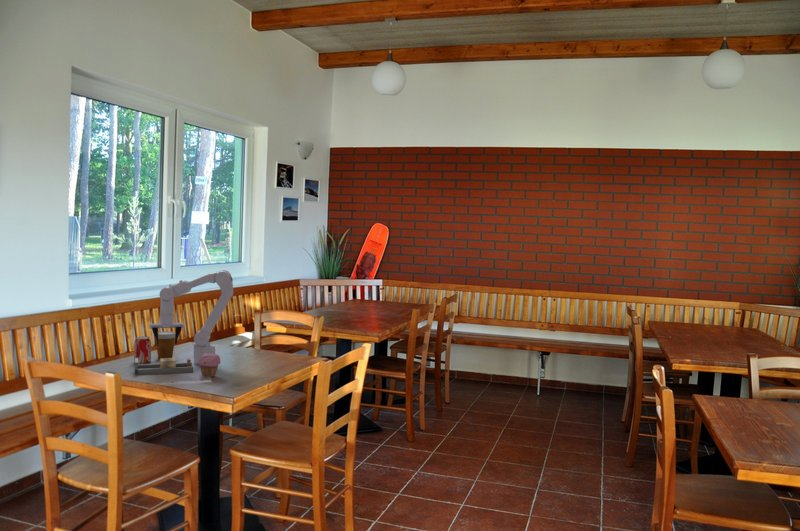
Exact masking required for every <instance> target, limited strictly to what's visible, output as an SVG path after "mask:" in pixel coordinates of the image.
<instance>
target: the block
mask: <svg viewBox="0 0 800 531" xmlns="http://www.w3.org/2000/svg"><path fill="white" fill-rule="evenodd" d="M159 360H160V361H159V364H160V368H171V367H191V361H192V360H191V358H186V363H187V365H179V366H176V363H177V360H176V357H172V358H160V359H159Z"/></svg>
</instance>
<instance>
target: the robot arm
mask: <svg viewBox="0 0 800 531" xmlns="http://www.w3.org/2000/svg"><path fill="white" fill-rule="evenodd" d="M231 274H232V273H230V272H229V271H228V270H225V269H223V270H220V271H215V272H211V273H207V274H204V275H203V276H200V277H197V278H195V279H192V280H191V281H188V280H186V279H185V280H183V279H180V280H179V281H178V282H176V283H174V284H168V286H166V287H163V288H161V290H160V291H159V298H160V308H159V309H160V312H159V313H160V314H159V315H160V316H159V318H160V319H159V323H157V322H156V323H149V329H151V330H152V333H153V335H154V338H155V342H157V345H158V332H159V329H175V330H174V332H175V342H174V345H177V344H178V339H179V336H180V334H181V332H182V330H183V329H184V328H185V323H184V322H175V319H174V318H175V316H174V315H175V313H174V312H175V310H174V309H175V304H174V300H175V298H178V297H180V296H183V295H186V294H188V293H190V292H191V291H192V289H194V288H197V287H199V286H202V285H204V284H208V283H210V284H215V283H216V284H217V286H218V287H219V289H220V292H221V294H220V296H219V298H218V300H217V302H216V304H215V305H214V307H213V309H212V310H211V311H210V314H208V317H207V319H206V320H205V321H204V323H203V325H202V327H201V328H200V329H199V330H198V331H196V333H195V335H194V336H193V342H194V343H193V364H195V365H199V359H200V357H202V355H203V354H205V353H213V354H216V345H215V344H211V343H210V341H209V340H211V333H212V331H213V329H214V328H215V326H216V324H217V323H218V321H219V320H220V318H221V316H222V314H223V312H224V311H225V309H226V307H227V306H228V303H229V302H230V301H231V298H233V296H234V286H233V284H234V283H233V281H234V280H233V277H232V275H231ZM174 297H175V298H174ZM157 345H156V346H157Z"/></svg>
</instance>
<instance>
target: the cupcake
mask: <svg viewBox="0 0 800 531" xmlns="http://www.w3.org/2000/svg"><path fill="white" fill-rule="evenodd" d="M220 357H221V356H220V355H218V354H216V353H215V354H213V353H205V354H203V355H202V357H200V359H199V364H198V365H199V366H200V369H201V376H208V377H209V376H210V378H214V377H215V376H216V375H217V370H218V367H219V366H220V364H221V358H220Z"/></svg>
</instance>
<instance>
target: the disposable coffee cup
mask: <svg viewBox="0 0 800 531" xmlns="http://www.w3.org/2000/svg"><path fill="white" fill-rule="evenodd" d="M155 342H156V341H155ZM174 348H175V331H168V330H166V331H158V345H157V342H156V352H157V353H156V354H157V358H158V360H160V358H173V356H174V350H175V349H174Z"/></svg>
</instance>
